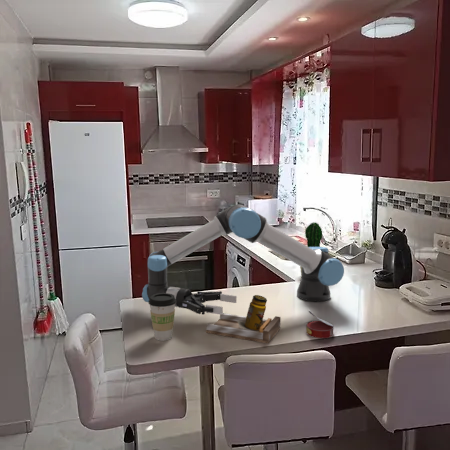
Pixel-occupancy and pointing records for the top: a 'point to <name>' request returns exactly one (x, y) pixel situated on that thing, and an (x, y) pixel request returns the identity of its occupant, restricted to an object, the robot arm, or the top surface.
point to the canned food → (319, 328)
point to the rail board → (231, 329)
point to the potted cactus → (313, 235)
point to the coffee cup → (162, 315)
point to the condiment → (254, 314)
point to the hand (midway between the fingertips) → (229, 304)
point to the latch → (265, 324)
